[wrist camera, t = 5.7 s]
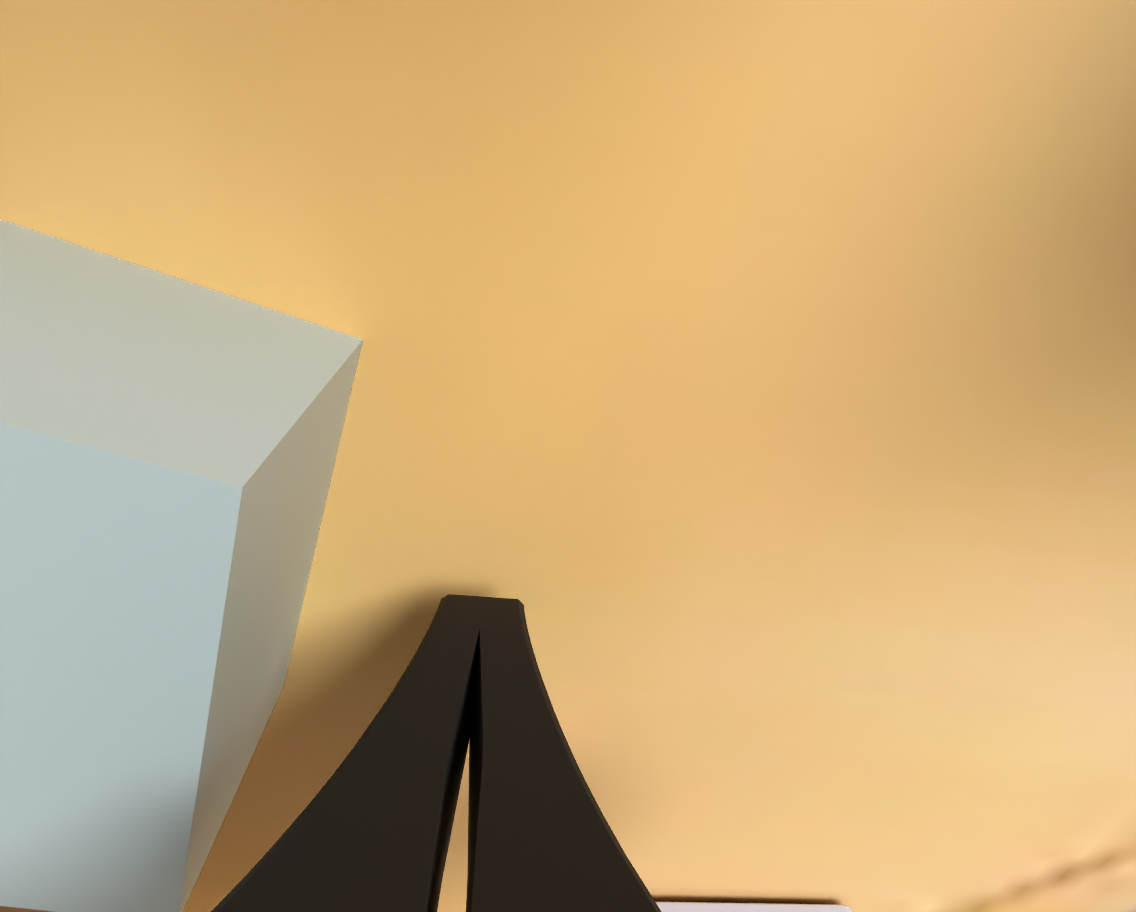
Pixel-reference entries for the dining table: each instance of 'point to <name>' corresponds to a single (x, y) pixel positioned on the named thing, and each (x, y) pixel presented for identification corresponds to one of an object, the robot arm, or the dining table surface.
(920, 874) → the dining table surface
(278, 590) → the block
